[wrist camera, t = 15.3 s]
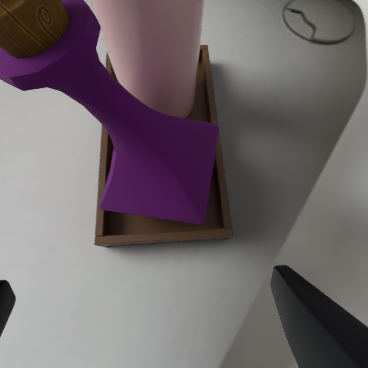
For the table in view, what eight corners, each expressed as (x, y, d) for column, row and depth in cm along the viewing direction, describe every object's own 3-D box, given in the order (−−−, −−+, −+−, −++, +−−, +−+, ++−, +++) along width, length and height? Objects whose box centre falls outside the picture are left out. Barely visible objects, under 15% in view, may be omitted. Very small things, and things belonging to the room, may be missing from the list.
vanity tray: (227, 238, 19) (233, 235, 17) (103, 246, 18) (94, 244, 17) (205, 61, 25) (207, 44, 23) (112, 64, 25) (106, 48, 23)
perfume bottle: (118, 219, 19) (-581, -150, 3) (141, 142, 22) (-139, -289, 5) (208, 234, 17) (-225, -659, 1) (221, 147, 20) (179, -482, 3)
